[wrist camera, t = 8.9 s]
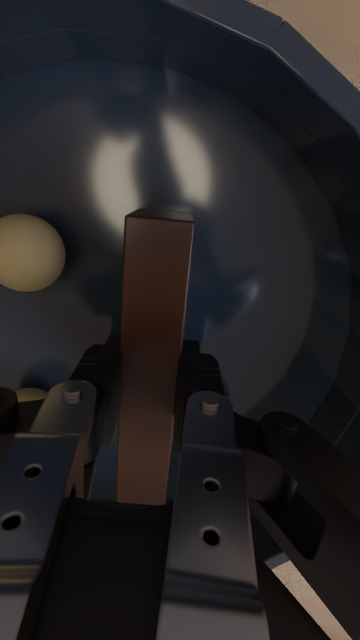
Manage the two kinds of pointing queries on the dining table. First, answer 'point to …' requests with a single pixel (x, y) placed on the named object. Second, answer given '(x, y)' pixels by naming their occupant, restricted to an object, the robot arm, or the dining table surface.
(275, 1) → the dining table surface
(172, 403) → the stick
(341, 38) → the dining table surface
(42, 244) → the bead
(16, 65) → the bowl
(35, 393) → the bead
